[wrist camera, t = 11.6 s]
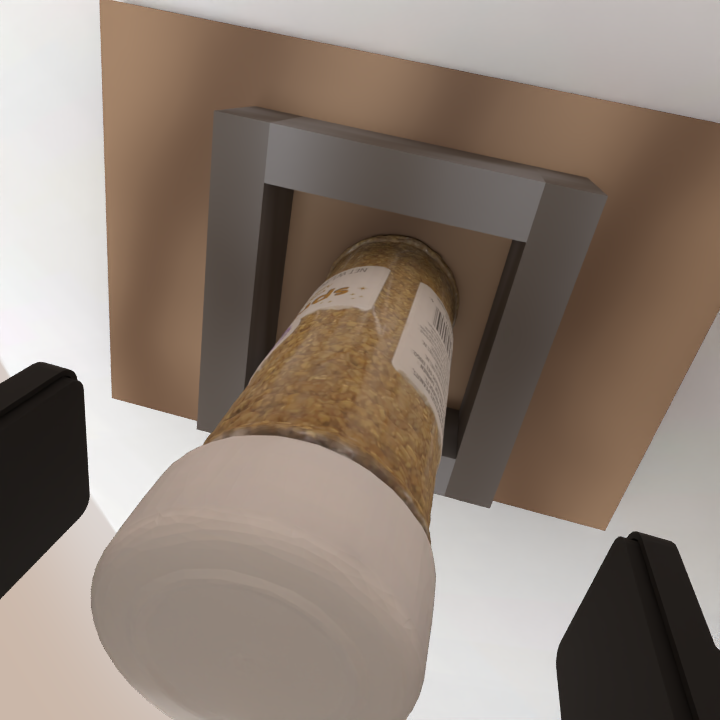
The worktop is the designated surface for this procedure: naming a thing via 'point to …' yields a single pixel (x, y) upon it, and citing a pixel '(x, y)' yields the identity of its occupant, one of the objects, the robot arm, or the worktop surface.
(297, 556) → the sprinkles bottle
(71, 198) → the worktop surface
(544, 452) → the caddy
